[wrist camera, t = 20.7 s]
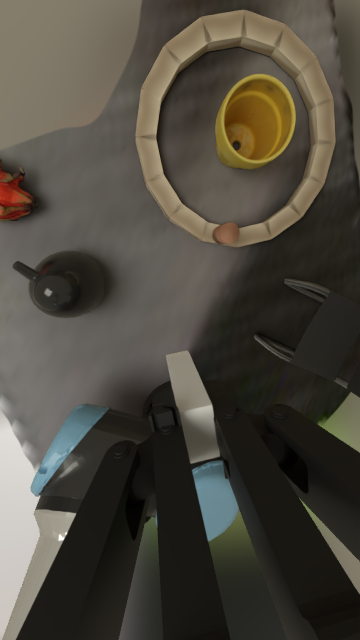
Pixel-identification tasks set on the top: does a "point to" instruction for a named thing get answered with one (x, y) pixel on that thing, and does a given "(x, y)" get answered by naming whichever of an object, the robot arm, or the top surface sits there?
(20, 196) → the dragon fruit
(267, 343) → the chair
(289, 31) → the beige segmented ring
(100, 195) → the top surface
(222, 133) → the plant pot
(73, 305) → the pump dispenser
